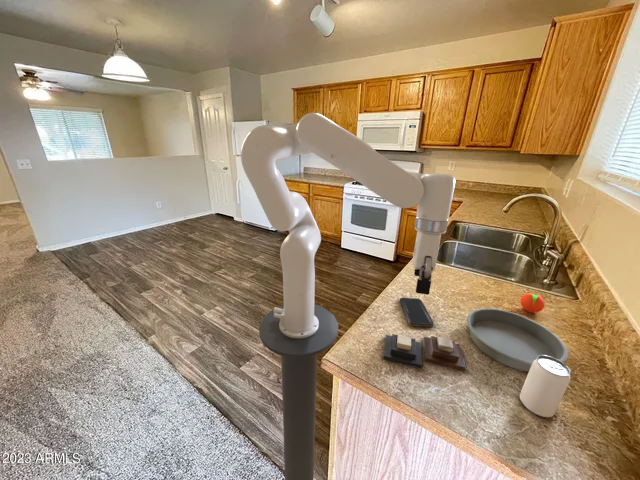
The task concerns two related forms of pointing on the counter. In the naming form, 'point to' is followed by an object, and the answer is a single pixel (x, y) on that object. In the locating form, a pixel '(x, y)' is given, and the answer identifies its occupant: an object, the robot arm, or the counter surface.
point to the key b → (444, 344)
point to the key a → (404, 342)
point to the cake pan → (513, 338)
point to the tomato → (532, 302)
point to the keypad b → (443, 354)
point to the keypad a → (402, 352)
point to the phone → (416, 312)
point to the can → (545, 386)
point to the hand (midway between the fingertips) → (420, 284)
